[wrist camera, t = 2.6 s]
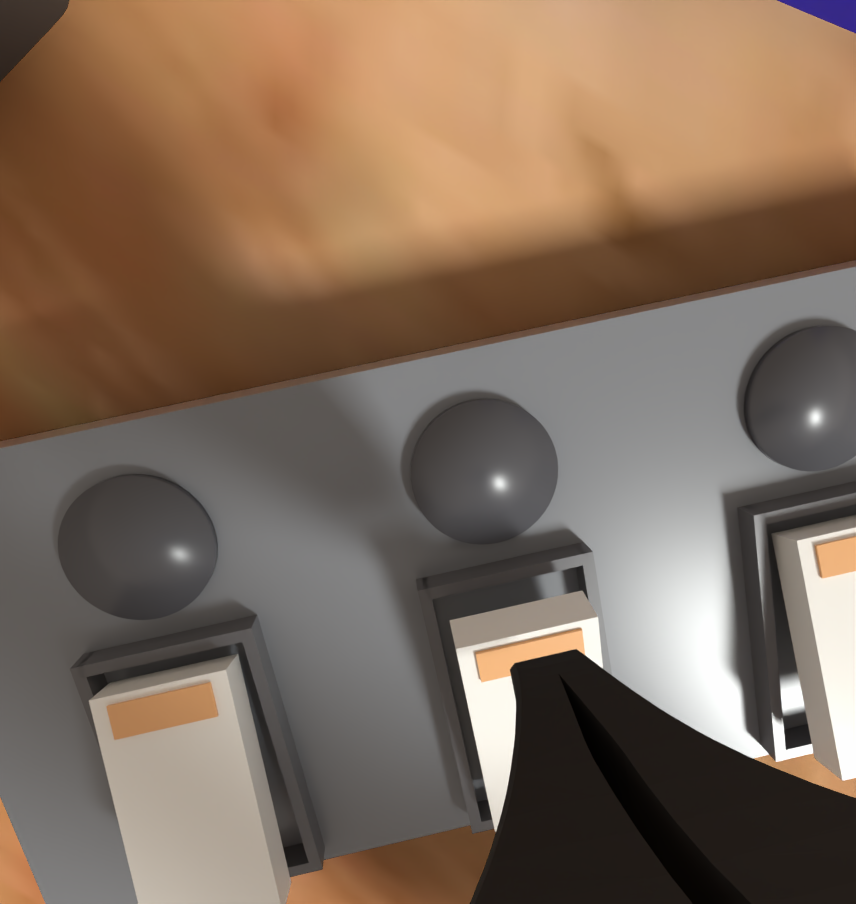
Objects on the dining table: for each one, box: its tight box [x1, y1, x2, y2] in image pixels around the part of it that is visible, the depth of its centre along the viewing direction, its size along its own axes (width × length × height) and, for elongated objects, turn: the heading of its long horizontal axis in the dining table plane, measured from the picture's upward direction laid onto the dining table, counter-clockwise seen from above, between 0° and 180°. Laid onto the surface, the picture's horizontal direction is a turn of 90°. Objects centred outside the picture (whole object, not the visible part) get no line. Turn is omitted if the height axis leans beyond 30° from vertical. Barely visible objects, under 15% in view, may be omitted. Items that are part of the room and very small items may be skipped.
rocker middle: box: [449, 591, 603, 832], centre depth 15 cm, size 6×3×1 cm, turn 12°
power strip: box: [0, 260, 856, 904], centre depth 17 cm, size 13×35×4 cm, turn 102°
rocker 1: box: [89, 654, 291, 904], centre depth 14 cm, size 6×3×1 cm, turn 12°
